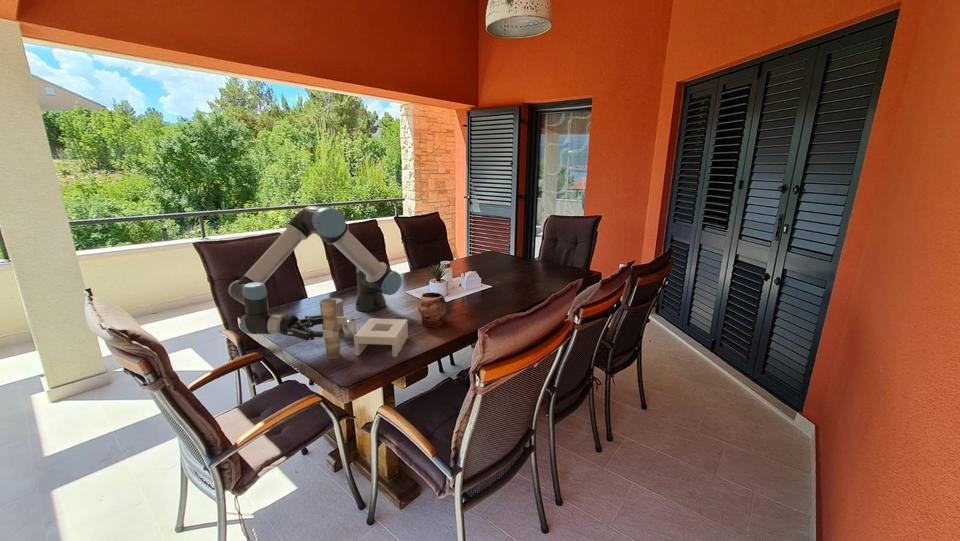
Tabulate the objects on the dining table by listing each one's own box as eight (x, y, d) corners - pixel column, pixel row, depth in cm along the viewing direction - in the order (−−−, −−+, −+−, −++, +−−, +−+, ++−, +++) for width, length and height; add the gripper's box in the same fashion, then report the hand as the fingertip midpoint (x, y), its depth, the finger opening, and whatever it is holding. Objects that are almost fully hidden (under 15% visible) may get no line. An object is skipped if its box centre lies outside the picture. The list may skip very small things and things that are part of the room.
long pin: (330, 352, 148) (325, 298, 143) (342, 353, 148) (338, 299, 142) (324, 358, 143) (318, 303, 138) (337, 359, 143) (332, 303, 138)
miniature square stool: (371, 335, 164) (369, 318, 162) (407, 337, 163) (407, 319, 161) (355, 355, 146) (353, 336, 144) (396, 356, 145) (395, 337, 143)
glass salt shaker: (346, 335, 164) (345, 318, 162) (358, 335, 163) (356, 318, 161) (341, 340, 159) (340, 322, 157) (353, 340, 159) (352, 322, 157)
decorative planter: (428, 313, 189) (427, 286, 186) (452, 315, 187) (451, 288, 183) (413, 329, 170) (412, 300, 167) (439, 332, 168) (439, 302, 165)
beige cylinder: (349, 324, 175) (347, 299, 172) (335, 332, 167) (332, 305, 163) (332, 321, 178) (329, 296, 175) (317, 329, 170) (314, 303, 166)
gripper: (301, 321, 156) (353, 323, 155) (266, 348, 133) (326, 351, 132) (299, 304, 155) (351, 306, 153) (263, 328, 131) (324, 330, 130)
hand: (340, 326), depth 142 cm, fingers open, 12 cm apart
